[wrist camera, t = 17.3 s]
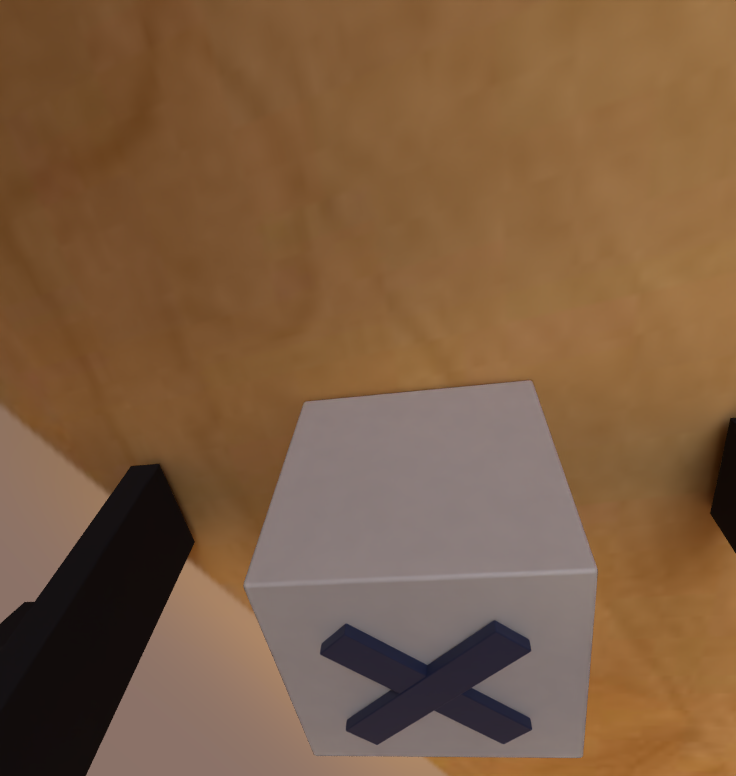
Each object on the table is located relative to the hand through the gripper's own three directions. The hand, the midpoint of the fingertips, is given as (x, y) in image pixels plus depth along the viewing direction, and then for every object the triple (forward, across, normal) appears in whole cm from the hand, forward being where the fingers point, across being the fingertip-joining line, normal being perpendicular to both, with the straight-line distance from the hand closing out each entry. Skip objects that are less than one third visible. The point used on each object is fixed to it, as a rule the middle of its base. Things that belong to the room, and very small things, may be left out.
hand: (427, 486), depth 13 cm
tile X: (0, 0, 0) cm, 0 cm away
